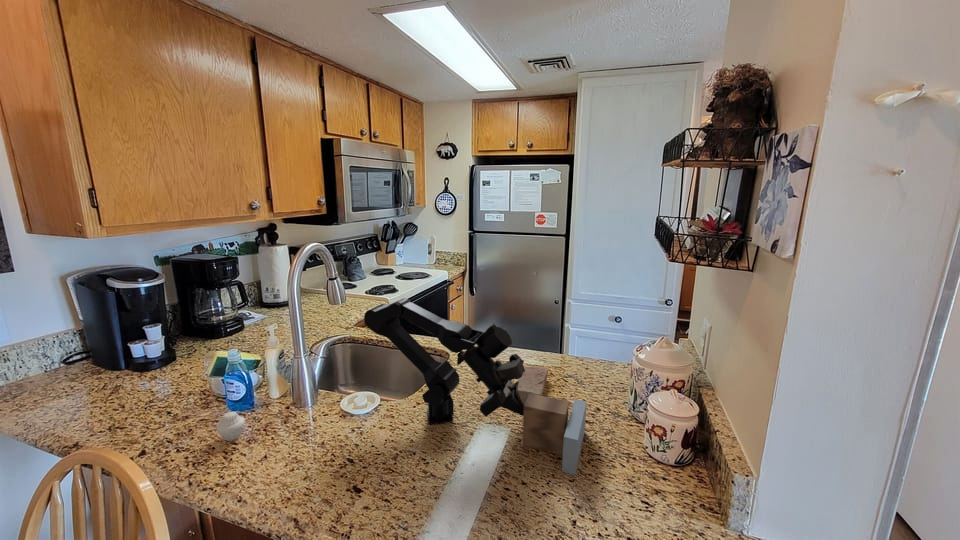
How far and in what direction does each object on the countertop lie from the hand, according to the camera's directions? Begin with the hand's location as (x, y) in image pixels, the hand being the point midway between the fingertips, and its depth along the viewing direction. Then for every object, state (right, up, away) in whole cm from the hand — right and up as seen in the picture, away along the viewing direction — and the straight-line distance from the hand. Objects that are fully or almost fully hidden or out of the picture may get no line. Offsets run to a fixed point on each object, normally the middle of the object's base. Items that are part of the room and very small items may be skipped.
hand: (525, 414), depth 95 cm
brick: (+5, -2, +24) cm, 24 cm away
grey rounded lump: (-75, -7, +2) cm, 75 cm away
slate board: (+12, -8, -3) cm, 14 cm away
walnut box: (+5, -7, 0) cm, 9 cm away
